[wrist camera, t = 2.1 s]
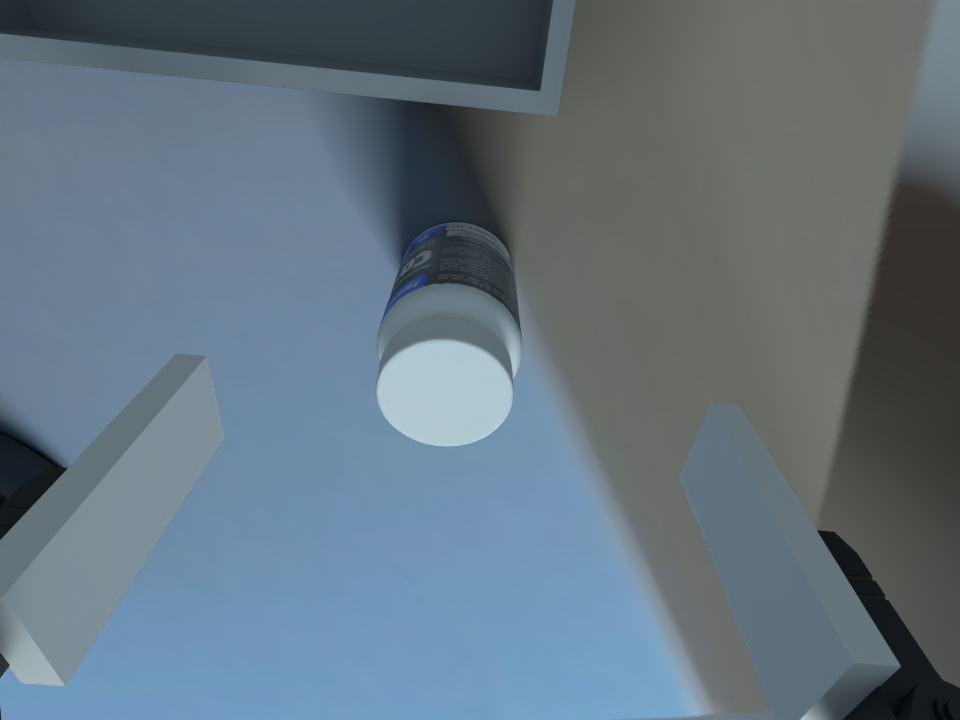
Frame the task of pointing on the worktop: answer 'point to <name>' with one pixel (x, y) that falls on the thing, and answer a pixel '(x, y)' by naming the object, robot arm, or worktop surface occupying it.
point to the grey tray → (315, 45)
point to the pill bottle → (450, 337)
